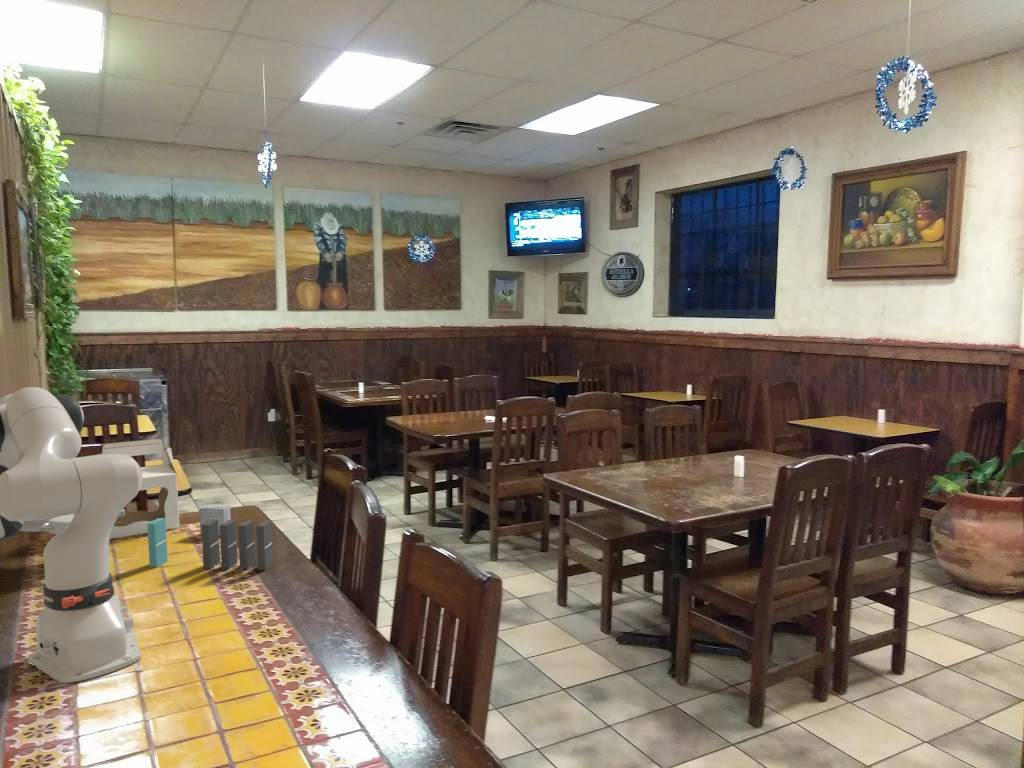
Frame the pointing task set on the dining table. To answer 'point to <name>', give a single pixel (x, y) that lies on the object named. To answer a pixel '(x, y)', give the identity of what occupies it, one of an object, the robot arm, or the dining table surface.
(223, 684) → the dining table surface
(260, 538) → the black domino
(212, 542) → the black domino
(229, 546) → the black domino
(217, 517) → the medicine box
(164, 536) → the teal domino
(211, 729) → the dining table surface
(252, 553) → the black domino
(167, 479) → the gable box
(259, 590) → the dining table surface
